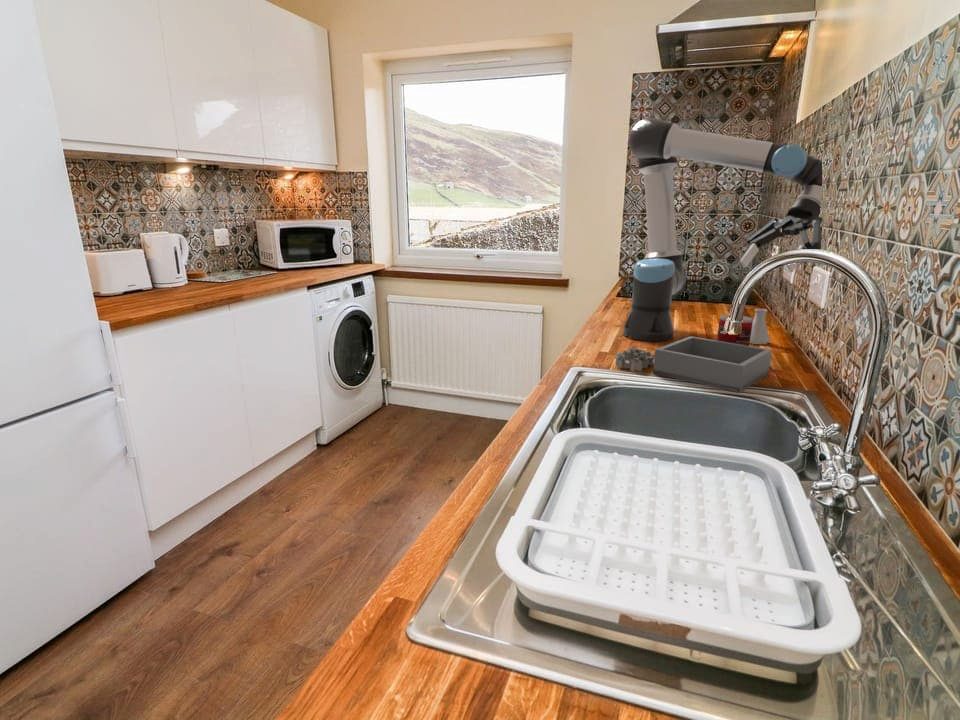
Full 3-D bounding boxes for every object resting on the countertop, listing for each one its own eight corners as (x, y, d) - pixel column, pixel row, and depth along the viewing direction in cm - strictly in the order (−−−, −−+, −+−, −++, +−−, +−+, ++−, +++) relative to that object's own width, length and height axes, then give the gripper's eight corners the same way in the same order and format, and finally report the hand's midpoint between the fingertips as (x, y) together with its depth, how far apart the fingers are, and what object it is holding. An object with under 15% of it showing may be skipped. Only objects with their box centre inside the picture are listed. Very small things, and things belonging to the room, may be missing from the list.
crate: (687, 358, 144) (690, 336, 143) (768, 373, 131) (772, 349, 130) (652, 373, 130) (655, 349, 129) (739, 392, 117) (743, 366, 116)
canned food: (716, 352, 151) (721, 313, 148) (748, 356, 147) (754, 316, 144) (712, 358, 144) (718, 318, 141) (745, 363, 140) (752, 321, 137)
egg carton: (637, 373, 131) (639, 357, 130) (610, 367, 136) (611, 351, 135) (658, 364, 139) (659, 349, 138) (631, 359, 144) (632, 344, 143)
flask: (754, 345, 159) (759, 312, 156) (737, 340, 166) (742, 307, 163) (775, 344, 160) (780, 311, 158) (757, 339, 167) (762, 307, 164)
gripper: (861, 216, 137) (816, 280, 134) (771, 217, 159) (730, 271, 156) (852, 194, 133) (806, 259, 131) (761, 198, 155) (719, 254, 152)
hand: (764, 266), depth 143 cm, fingers open, 13 cm apart
